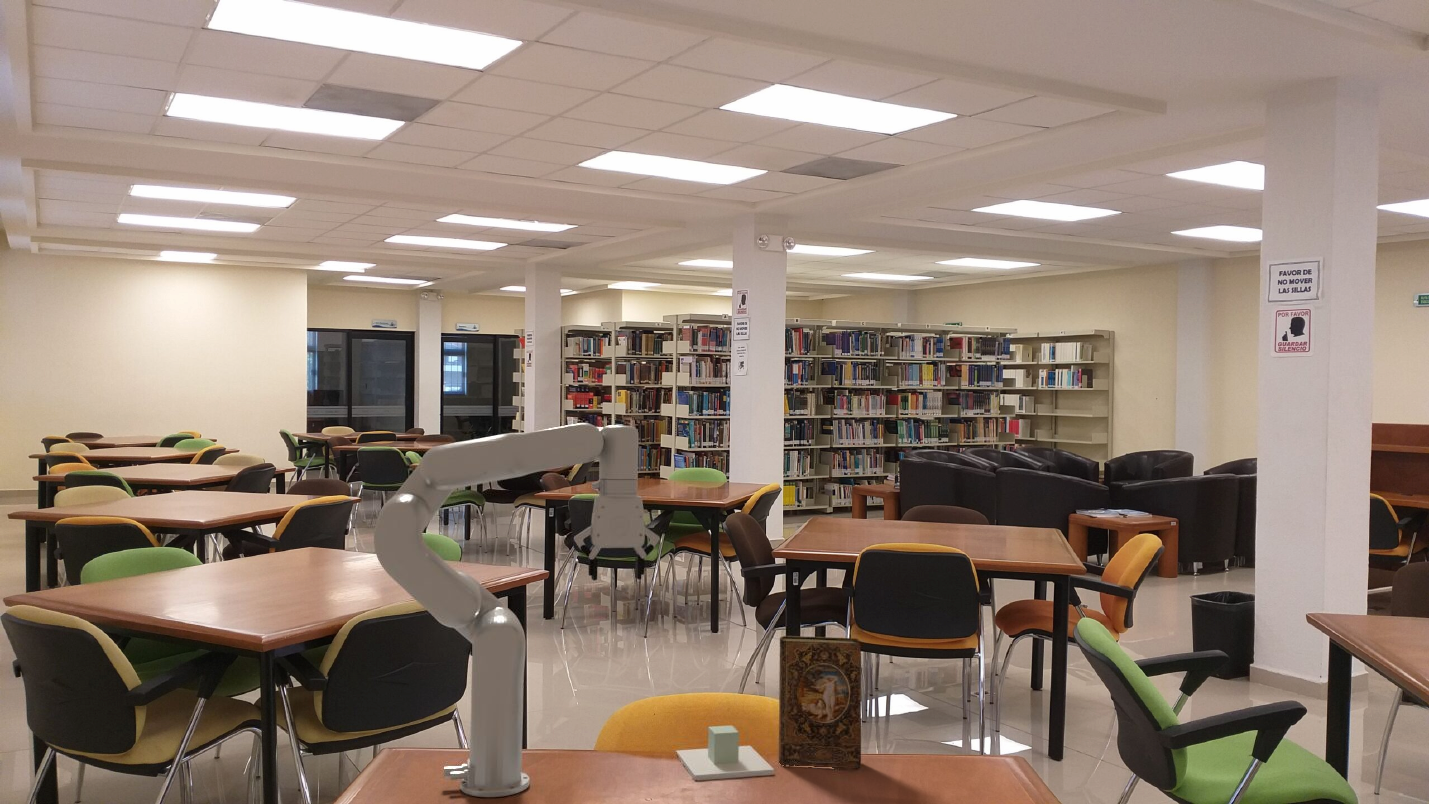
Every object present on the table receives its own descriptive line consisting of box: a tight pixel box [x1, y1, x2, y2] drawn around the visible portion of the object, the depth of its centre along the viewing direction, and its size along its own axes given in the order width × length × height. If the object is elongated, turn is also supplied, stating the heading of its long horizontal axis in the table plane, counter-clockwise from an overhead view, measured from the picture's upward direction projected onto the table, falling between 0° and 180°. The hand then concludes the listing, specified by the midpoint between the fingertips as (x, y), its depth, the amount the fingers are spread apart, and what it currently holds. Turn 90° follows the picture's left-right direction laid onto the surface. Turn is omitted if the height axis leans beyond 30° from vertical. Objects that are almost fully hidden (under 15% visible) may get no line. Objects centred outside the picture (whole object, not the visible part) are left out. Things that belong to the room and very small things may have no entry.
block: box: [707, 725, 740, 764], centre depth 195 cm, size 5×5×6 cm
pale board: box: [675, 745, 775, 781], centre depth 195 cm, size 16×16×1 cm
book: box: [778, 635, 862, 771], centre depth 196 cm, size 16×6×25 cm, turn 84°
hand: (616, 578), depth 188 cm, fingers open, 8 cm apart
